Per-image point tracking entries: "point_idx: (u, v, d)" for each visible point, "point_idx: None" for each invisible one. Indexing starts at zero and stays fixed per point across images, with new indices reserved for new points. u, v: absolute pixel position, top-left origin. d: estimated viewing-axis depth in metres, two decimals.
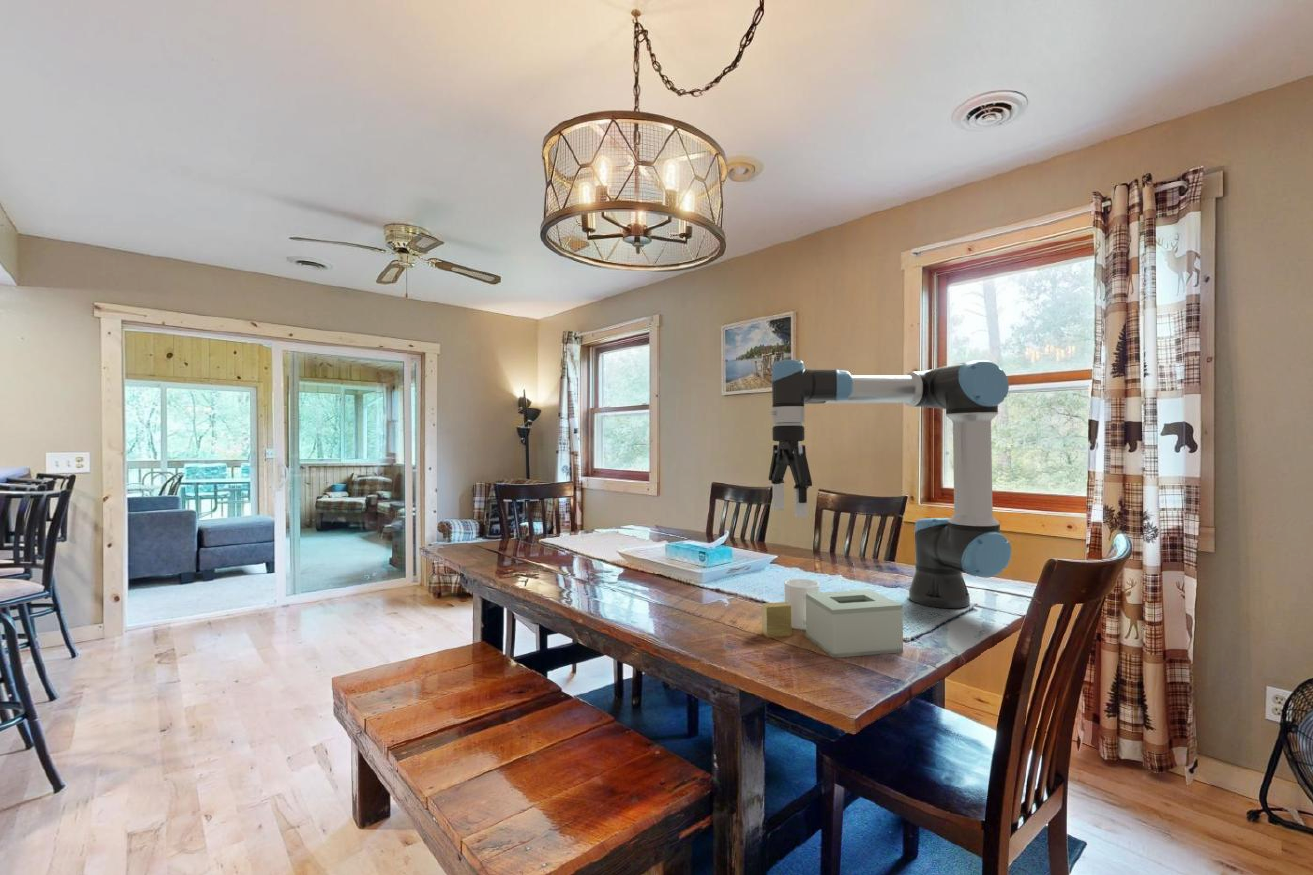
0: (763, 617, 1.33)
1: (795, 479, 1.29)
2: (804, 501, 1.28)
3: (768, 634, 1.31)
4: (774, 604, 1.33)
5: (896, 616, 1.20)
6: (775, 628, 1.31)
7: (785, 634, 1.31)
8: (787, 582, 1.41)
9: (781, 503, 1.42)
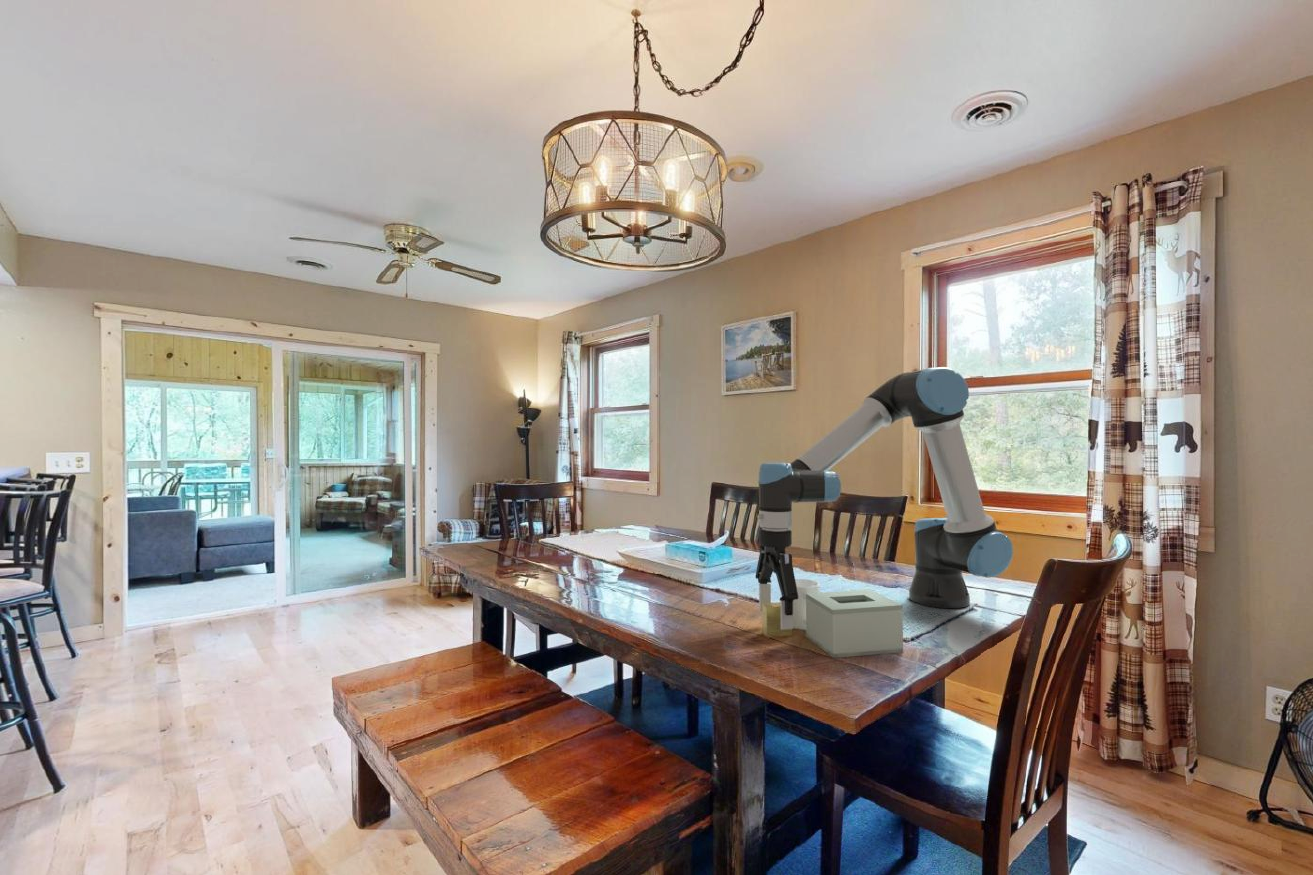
0: (763, 617, 1.33)
1: (781, 590, 1.26)
2: (790, 613, 1.24)
3: (768, 634, 1.31)
4: (774, 604, 1.33)
5: (896, 616, 1.20)
6: (775, 628, 1.31)
7: (785, 634, 1.31)
8: None
9: None
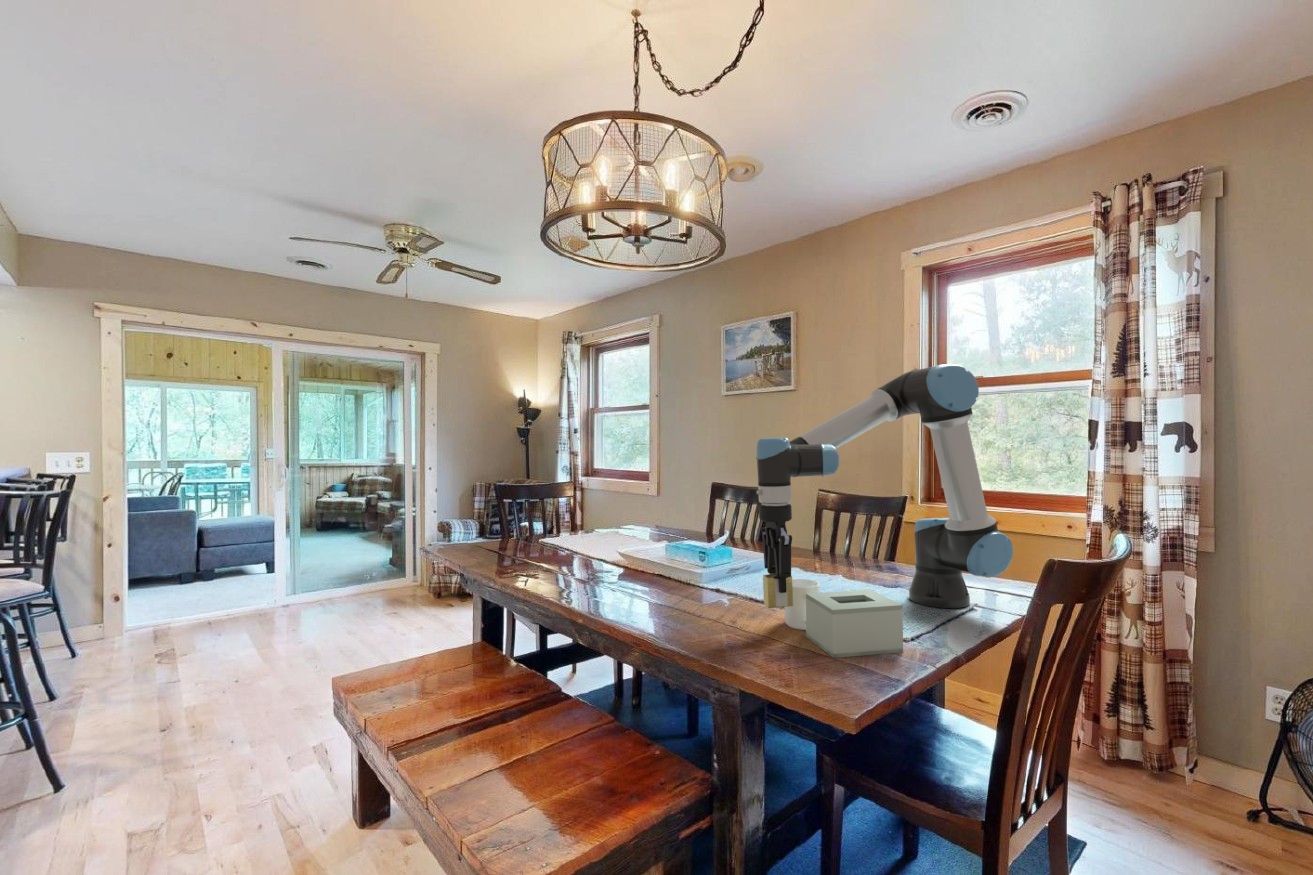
0: (764, 588, 1.33)
1: (776, 568, 1.30)
2: (784, 591, 1.29)
3: (770, 605, 1.31)
4: (775, 575, 1.33)
5: (896, 616, 1.20)
6: None
7: None
8: None
9: None
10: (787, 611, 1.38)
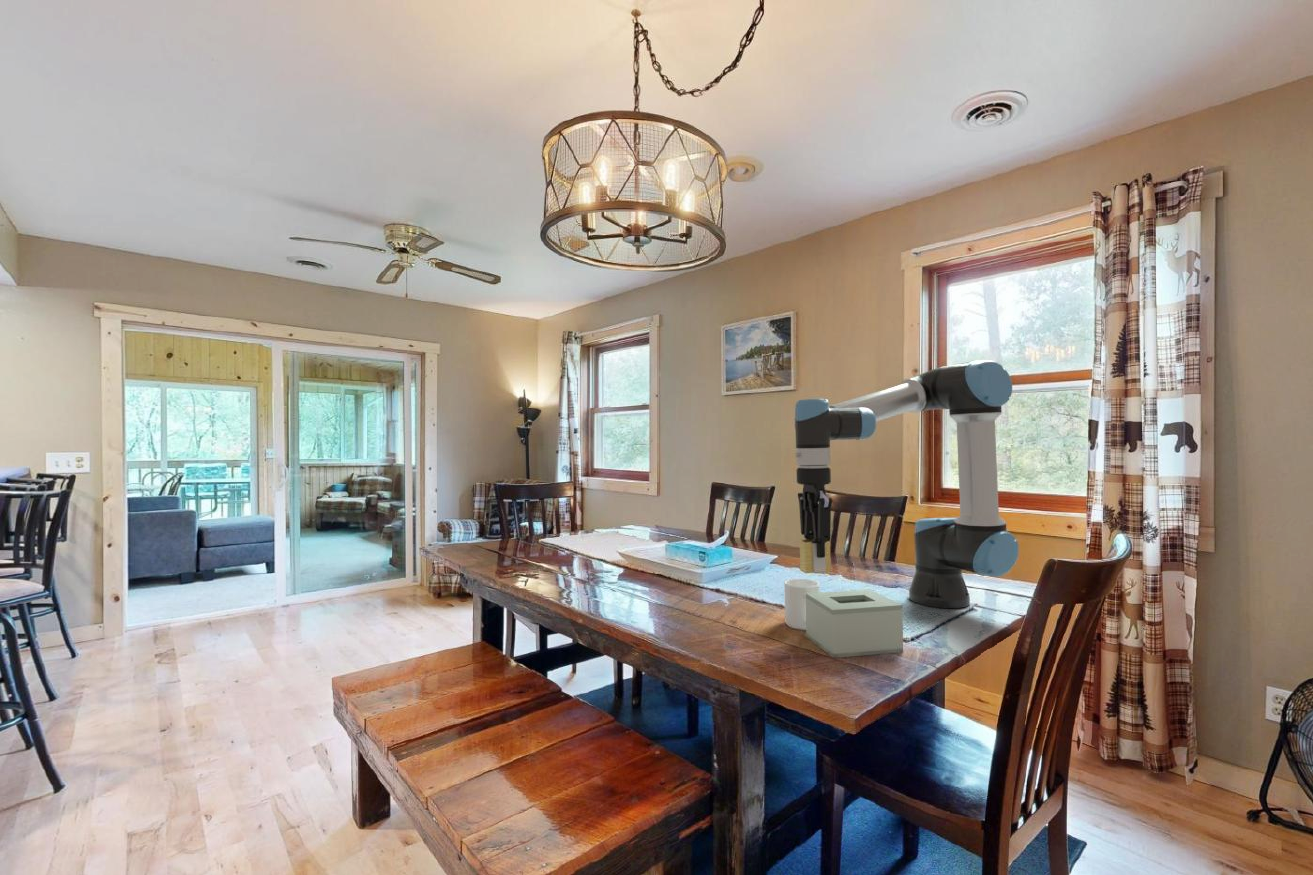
0: (801, 553, 1.29)
1: (815, 533, 1.26)
2: (822, 556, 1.26)
3: (807, 570, 1.27)
4: (812, 540, 1.29)
5: (896, 616, 1.20)
6: None
7: None
8: (787, 582, 1.41)
9: None
10: (787, 611, 1.38)
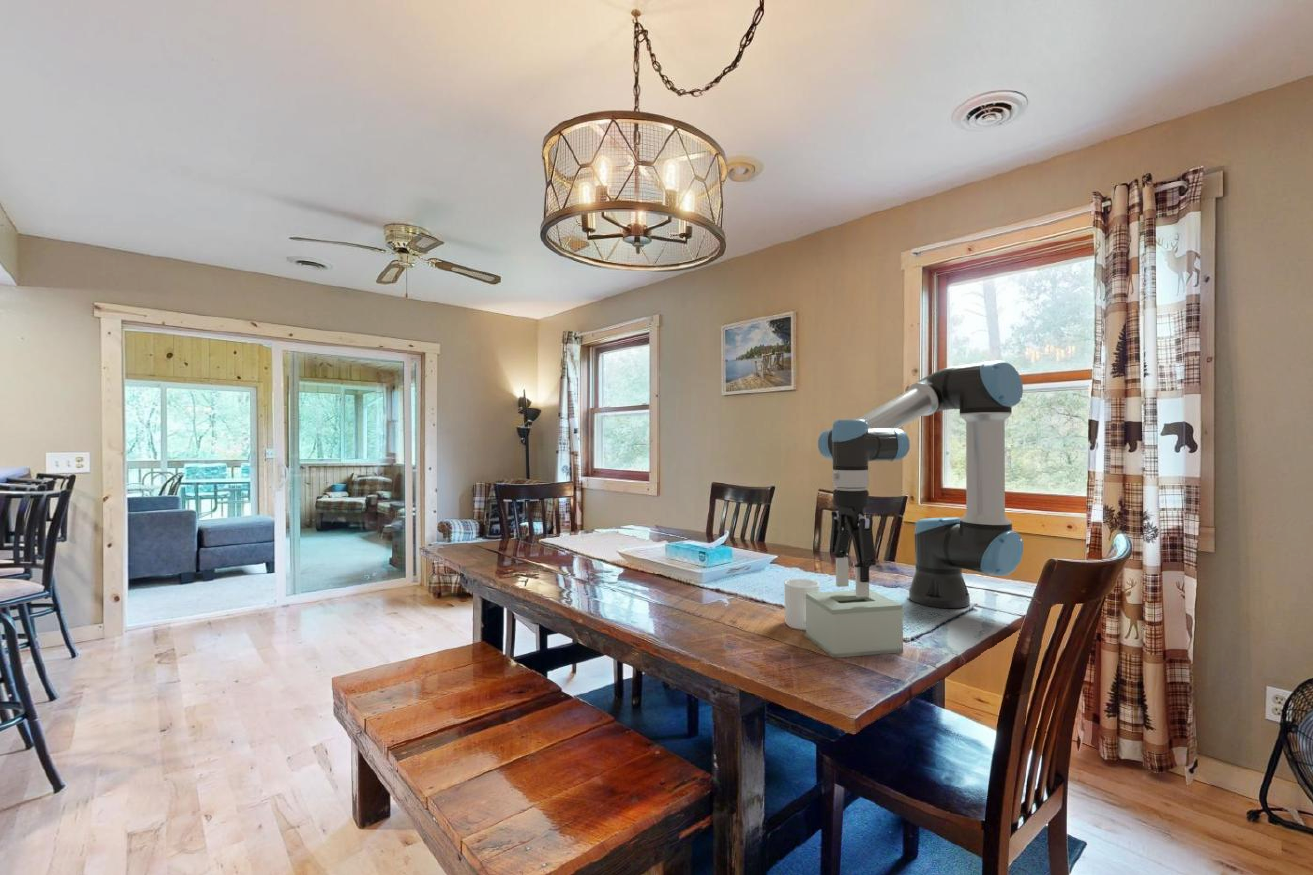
0: None
1: (857, 556, 1.21)
2: (866, 580, 1.20)
3: None
4: None
5: (896, 616, 1.20)
6: None
7: None
8: (787, 582, 1.41)
9: (846, 579, 1.30)
10: (787, 611, 1.38)
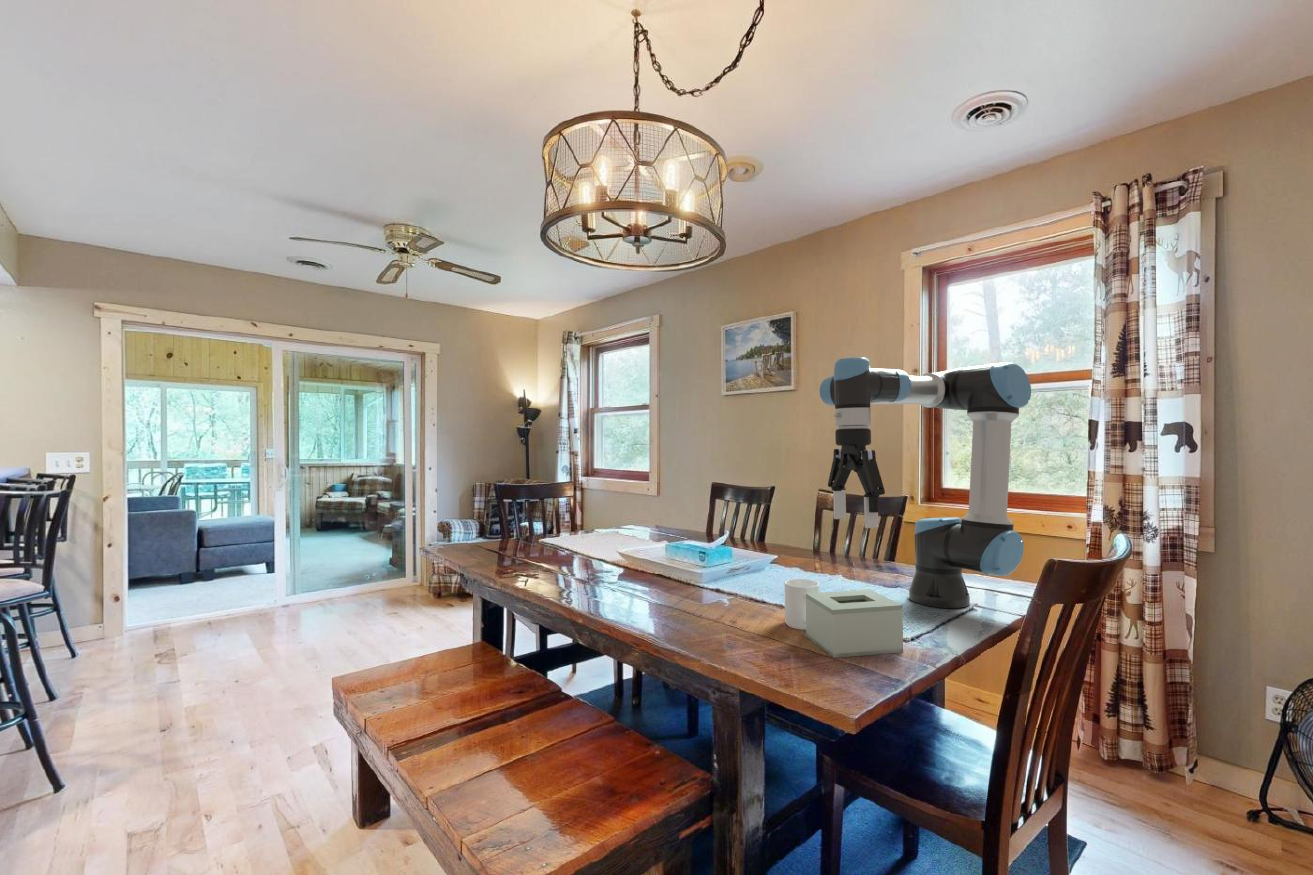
0: None
1: (865, 487, 1.19)
2: (875, 511, 1.18)
3: None
4: None
5: (896, 616, 1.20)
6: None
7: None
8: (787, 582, 1.41)
9: (843, 512, 1.32)
10: (787, 611, 1.38)
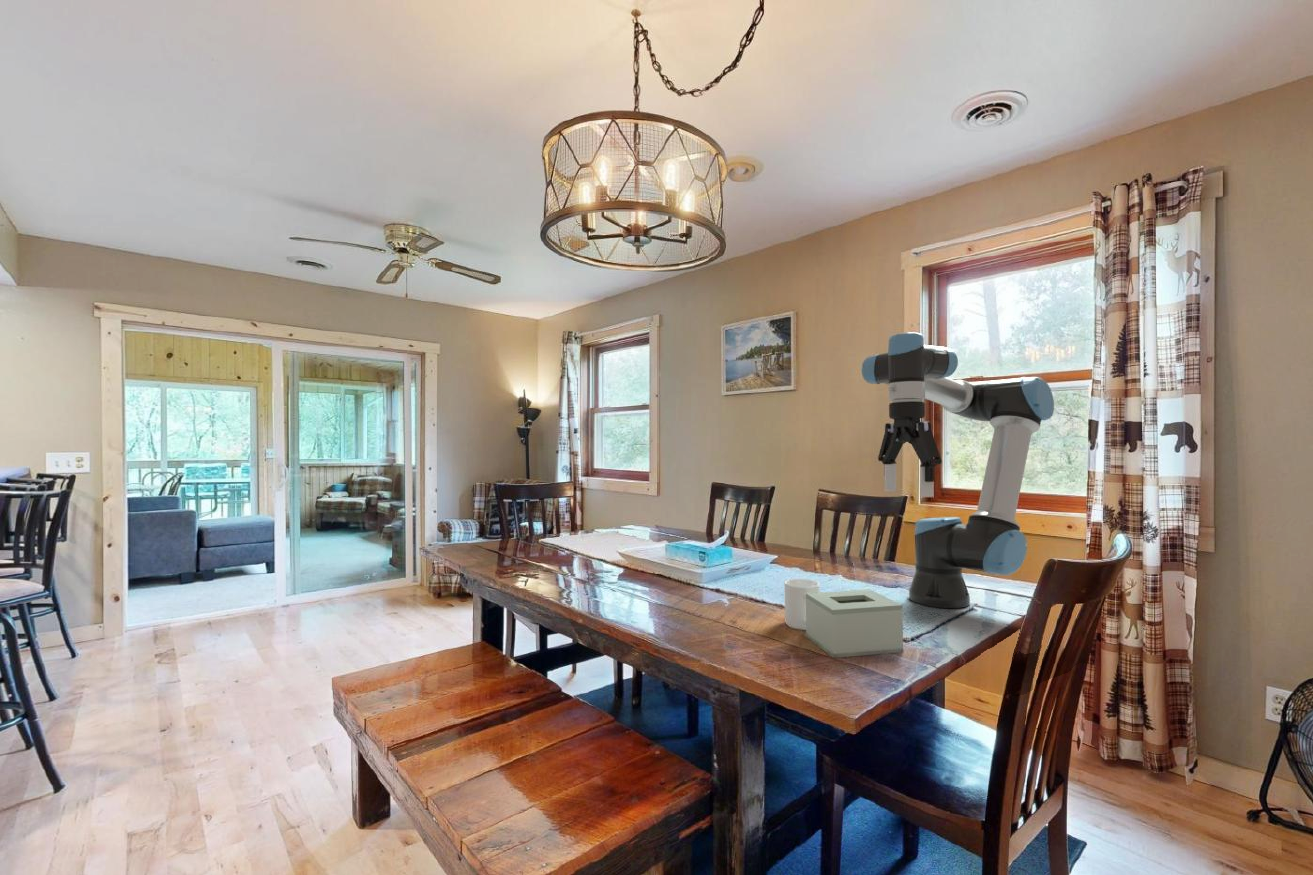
0: None
1: (921, 457, 1.23)
2: (931, 480, 1.22)
3: None
4: None
5: (896, 616, 1.20)
6: None
7: None
8: (787, 582, 1.41)
9: (894, 485, 1.36)
10: (787, 611, 1.38)
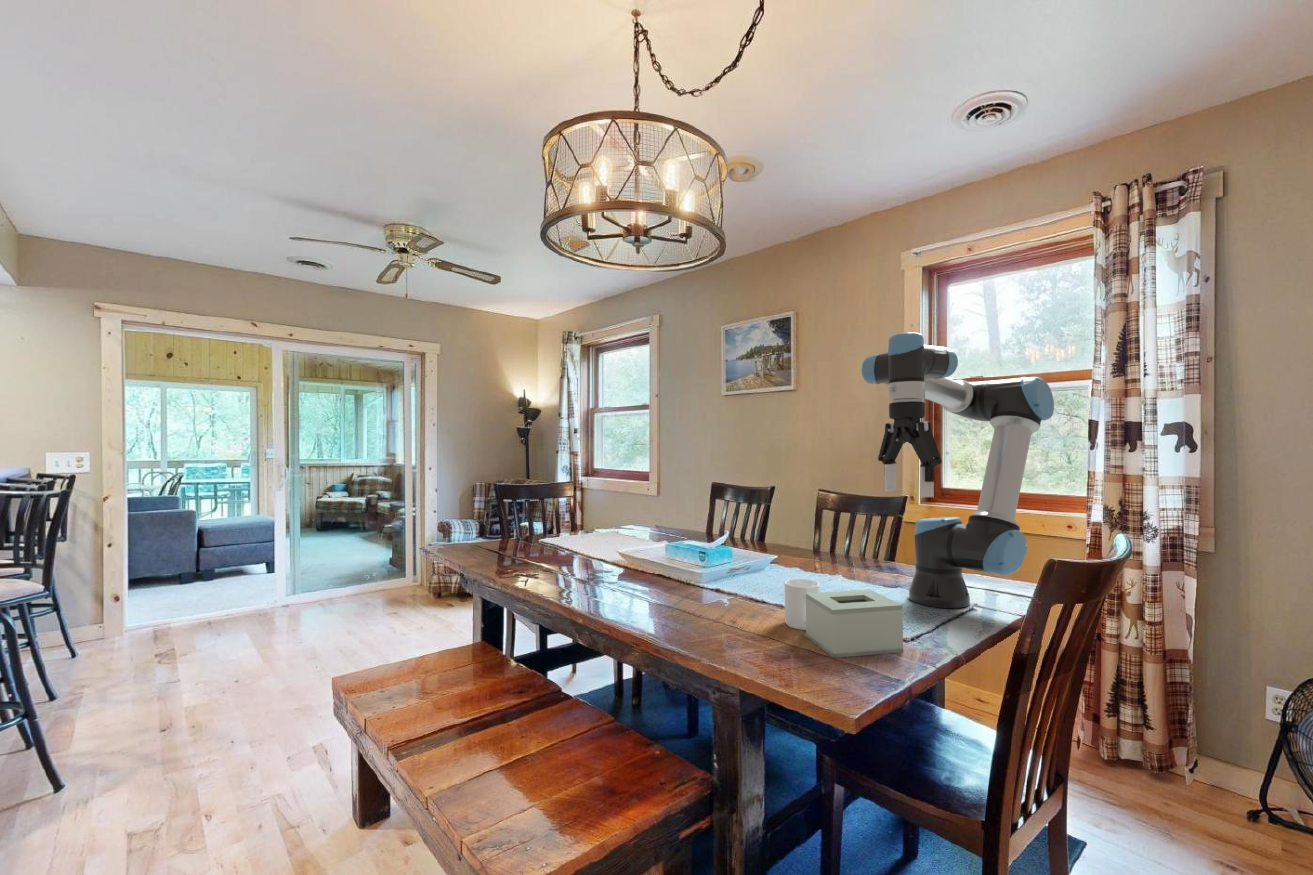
0: None
1: (921, 457, 1.23)
2: (932, 480, 1.22)
3: None
4: None
5: (896, 616, 1.20)
6: None
7: None
8: (787, 582, 1.41)
9: (894, 485, 1.36)
10: (787, 611, 1.38)
